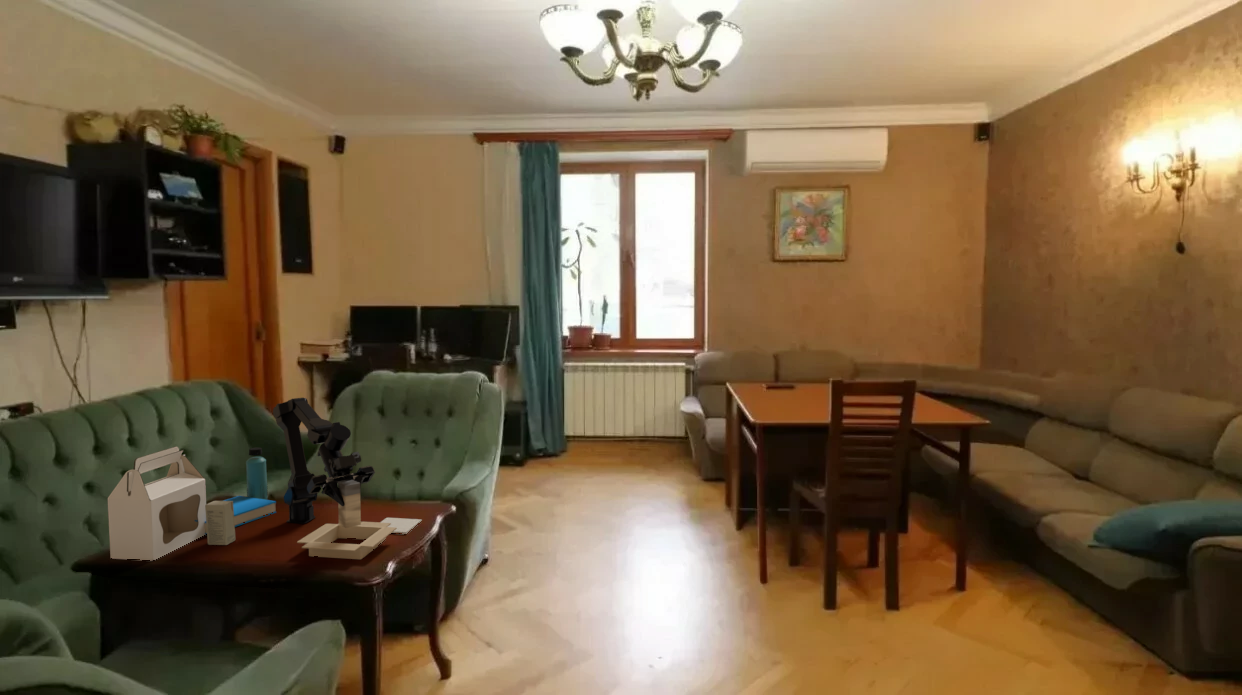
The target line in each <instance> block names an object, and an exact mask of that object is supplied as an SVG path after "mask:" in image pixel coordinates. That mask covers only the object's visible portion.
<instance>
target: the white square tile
mask: <svg viewBox="0 0 1242 695" xmlns="http://www.w3.org/2000/svg"><path fill="white" fill-rule="evenodd" d="M421 521H423V519H418V518H400V517H386V518H385V517H384V519H383V520H381V521H380V522H379V523H391V524H390V525H389V526H388V527H394V528H397V529H396V530H394V531H393V532H392V533H402V534H401V535H404V534H407V533H408V532H409V531H410V530H411V529H413V528H414V527H415V526H416V525H417V524H418V523H420V522H421ZM421 523H422V522H421ZM421 523H420V524H421ZM417 526H418V525H417ZM417 526H416V527H417ZM416 527H415V528H416ZM415 528H414V529H415ZM414 529H413V530H414ZM411 531H412V530H411ZM411 531H410V532H411ZM410 532H409V533H410ZM409 533H408V534H409ZM408 534H407V535H408Z"/></svg>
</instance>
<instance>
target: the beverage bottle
mask: <svg viewBox="0 0 1242 695" xmlns="http://www.w3.org/2000/svg"><path fill="white" fill-rule="evenodd" d="M262 454H263V448H262V447H252V448H249V449H248V455H249V456H251V457H249V458H248V459H247V460H246V461H245V465H246V497H252V498H258V499H265V500H268V497H269V492H268V476H267V475H268V474H267V459H266V458H265V457H263V456H260V455H262ZM252 456H253V457H252Z"/></svg>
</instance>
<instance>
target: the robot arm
mask: <svg viewBox="0 0 1242 695" xmlns="http://www.w3.org/2000/svg"><path fill="white" fill-rule="evenodd" d="M272 415H273V417H274V419H275V423H276V425H277V426H278V427H280V429H281V430H282V431H283V434H284V435H283V436H284V441H285V446H286V451H287V452H286V453H287V456H288V461H289V467H290V473H291V475H290V477H289V480H288V482H287V490H286V492H285V493H284V495H283V502H284V504H286V505H288V512H289V514H288V515H289V516H288V518H289V519H287V520H286V523H288V524H301V525H302V524H306V523H309V522H310V521H312V520H313V519H315V518H316V515H314V514H315V511H314V510H315V509H314V505H313V501H314V502H315V501H317V499H318V494H319V493H320V492H321V494H322V495H326V496H327V497H329V498H331V499H332V500H334V501H335V502H336V503H337V504H338V503H339V504H340V505H341V506H344V505H345V503H344V500H343V498H342V495H341V493H340V491H339V489H338V483H340V482H345V481H350V480H354V481H357V482H359V483H360V502H361V501H362V497H361V494H362V493H361V492H362V490H361V489H362V488H361V487H362V484H367V483H369V482H371V481H372V480H371V479H372V478H373V476H374V475H375V473H376V470H375V468H374V467H373V466H372V465H365V466H361V467H359V468H358V469H357V472H353V470H354V468H353V467H355V466H357V465H358V464H359V463H361V462H362V457H361V456H362V455H361V454H360V453H359V451H355V452H352V453H350V455H343V452H342V450H343V449H344V448H345V447H346V444H347V443H348V441H349V440H350V437H351V433H352V432H351V429H350V428H348V427H347V426H345V425H343V424H341V423H340V422H339V421H337V422H335V421H334V422H331V421H329V420H328V419H325V418H321V417H320V416H319V414H318V413H317V412H316V411H315V409H314V408H313V407H312V406H311V404H309V402H308V398H306V397H295V398H291V399H288V400H287V401H284V402H281V403H277V404H275V406H274V407H273V409H272ZM301 424H303V425H304V426H305V428H306V429H307V435H306V436H307V437H308V438H307V439H308V441H310V443H311V444H312V445H319V448H318V451H317V457H320V458H321V460H322V462H323V465H324V468H323V471H324V473H327V475H328V476H327V475H326V474H319V475H315V474H314V473H311V472H310V471H309V470H308V465H307V461H306V456H305V450H304V449H305V448H304V446H303V445H304V444H303V440H302V433H301V428H300V427H301ZM320 444H321V445H320ZM351 472H353V473H351ZM321 490H322V491H321Z"/></svg>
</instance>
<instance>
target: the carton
mask: <svg viewBox="0 0 1242 695" xmlns="http://www.w3.org/2000/svg"><path fill="white" fill-rule="evenodd" d="M390 524H391V523H380V522H377V521H361V525H357V526H353V527H349V528H344V527H343V526H341V525H339V522H338V523H325V524H324V525H322V526H320V527H318V528H317V529H315V530H313V531H312V532H310V533H308V534H307V535H306V536H304V537H302V538H300V539H299V540H297V542H296V543H297V544H304V545H303V546H301V549H308V557H314V556H318V557H317V558H332V559H349V560H351V559H352V560H362V559H363V558H365V557H366V556H368V555H369V554H370V553H371V552H372V551H374V550H375V549H376V548H378V547H379V546H380V545H381V544H383V543H384V542H385V541H386V540H387V537H388V536H389V535H392V534H391V533H392V532H393V531H394V530H396V529H397V528H394V527H388V526H389V525H390ZM347 538H356V539H355V540H363V542H361V543H360V544H359V543H358V544H357V543H342V542H341V543H340V542H339V543H338V542H334V541H337V540H338V539H347ZM364 539H366V540H364ZM385 539H386V540H385ZM384 540H385V541H384ZM383 541H384V542H383ZM331 542H332V543H331ZM382 542H383V543H382ZM380 543H381V544H380ZM379 544H380V545H379ZM378 545H379V546H378ZM373 549H374V550H373Z"/></svg>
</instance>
